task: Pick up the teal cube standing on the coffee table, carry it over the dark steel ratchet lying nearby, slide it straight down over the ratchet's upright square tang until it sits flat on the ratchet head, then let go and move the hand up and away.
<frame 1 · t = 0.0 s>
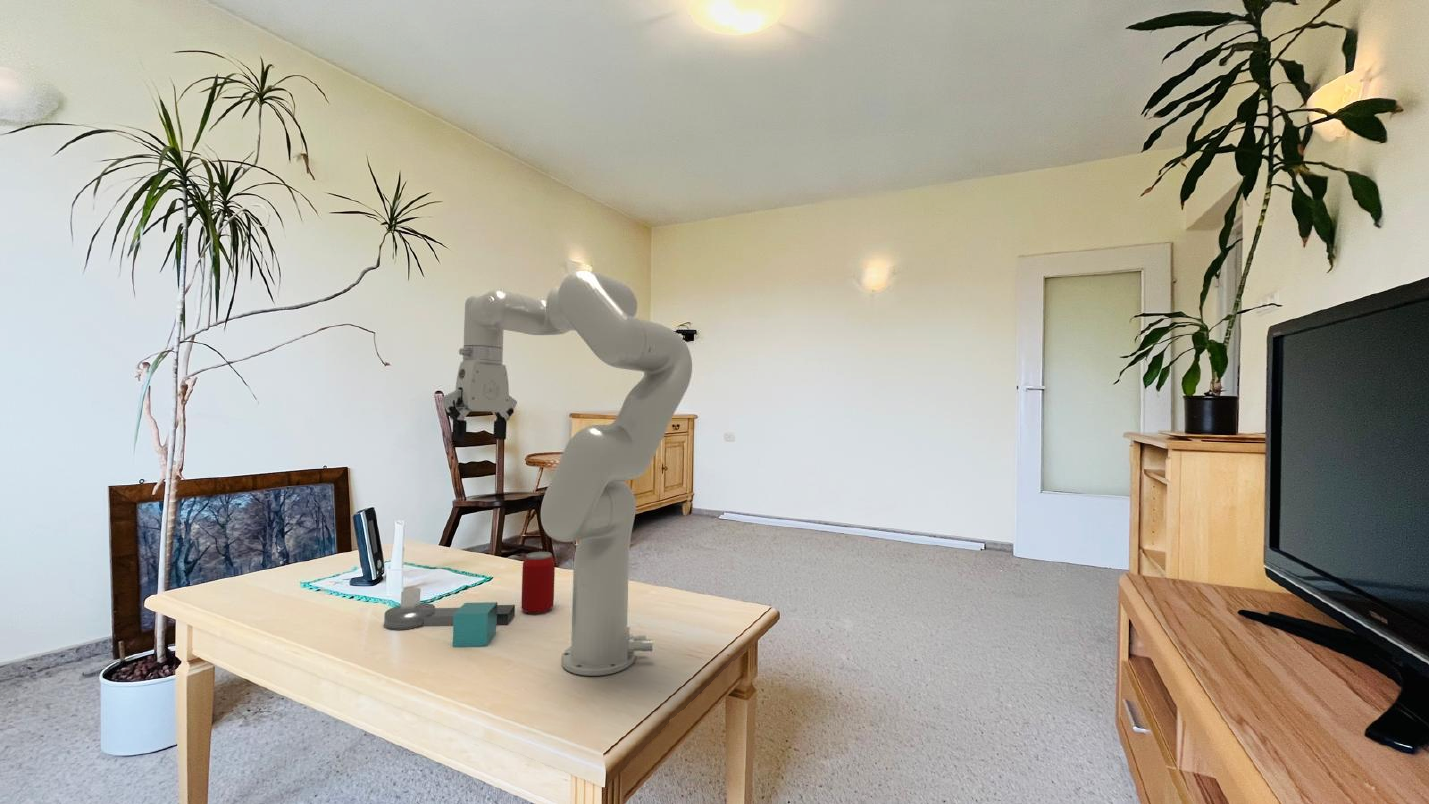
hand: (480, 439, 112), 37 cm above the table, tool pointing down, fingers open, 9 cm apart
beverage can: (537, 610, 119), on the table
ratchet: (445, 622, 112), on the table
teal cube: (475, 640, 103), on the table
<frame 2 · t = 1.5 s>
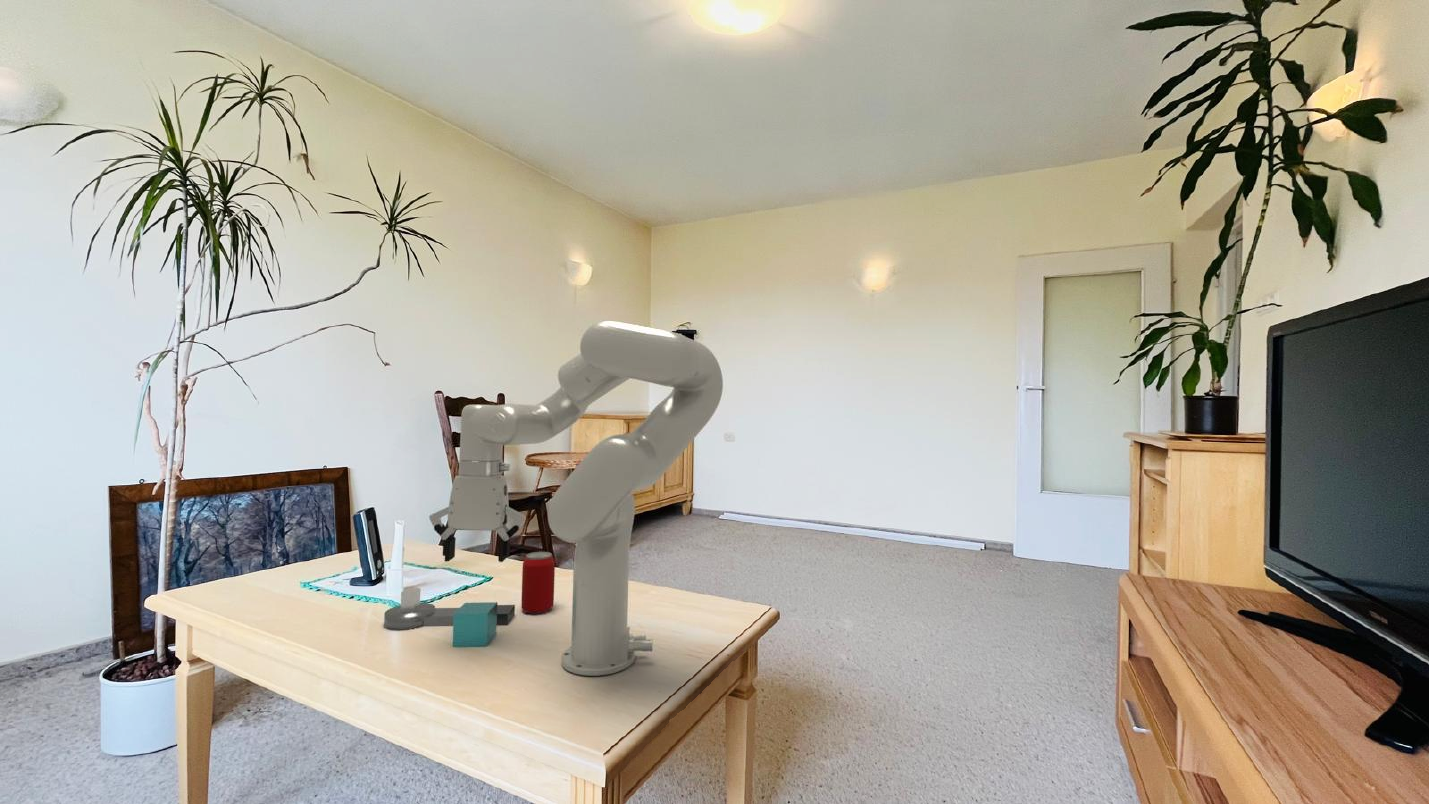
hand: (476, 559, 103), 15 cm above the table, tool pointing down, fingers open, 9 cm apart
nothing on the table moved.
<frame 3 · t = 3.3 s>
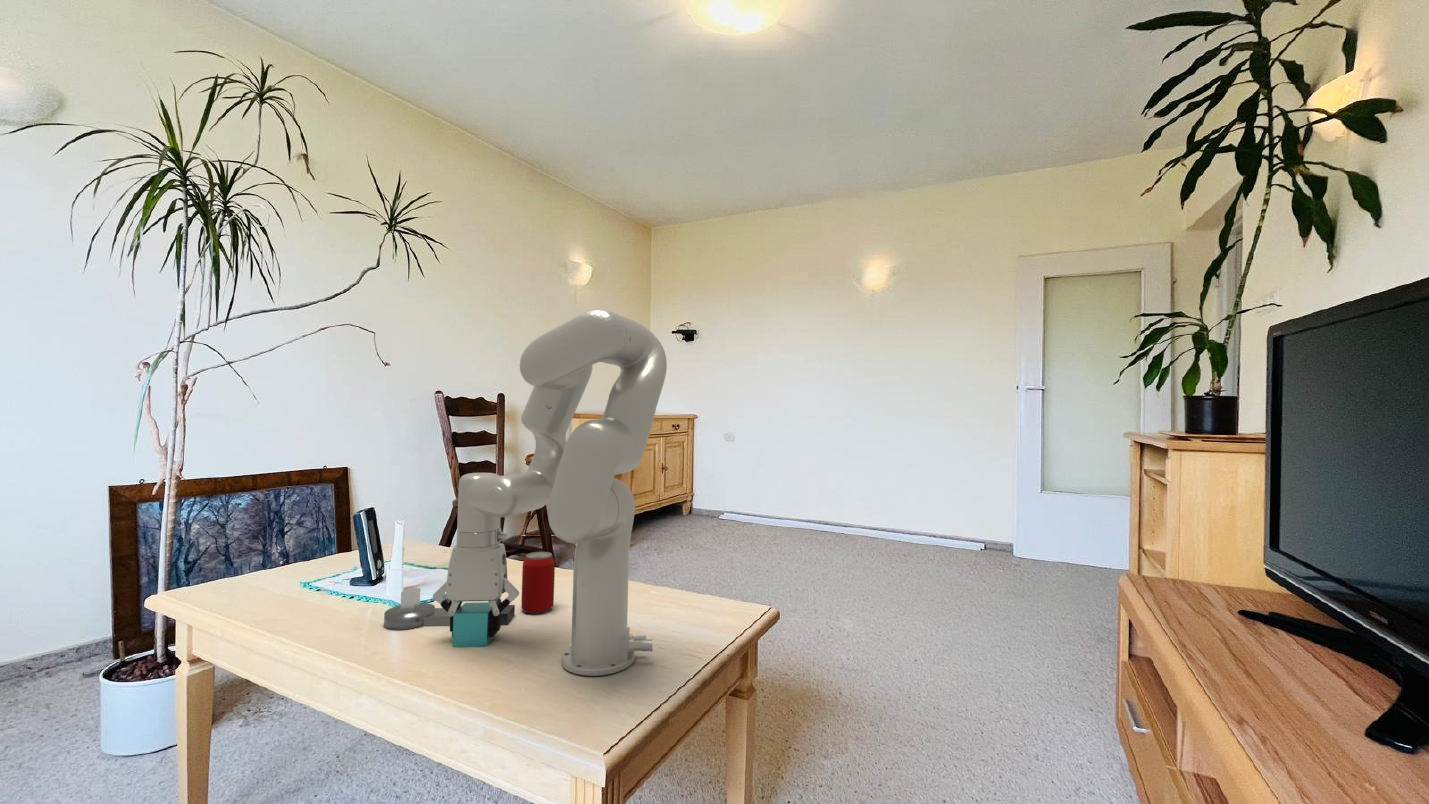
hand: (475, 634, 103), 1 cm above the table, tool pointing down, fingers closed on teal cube, 6 cm apart
teal cube: (475, 640, 103), on the table, touching gripper
everything else where it was.
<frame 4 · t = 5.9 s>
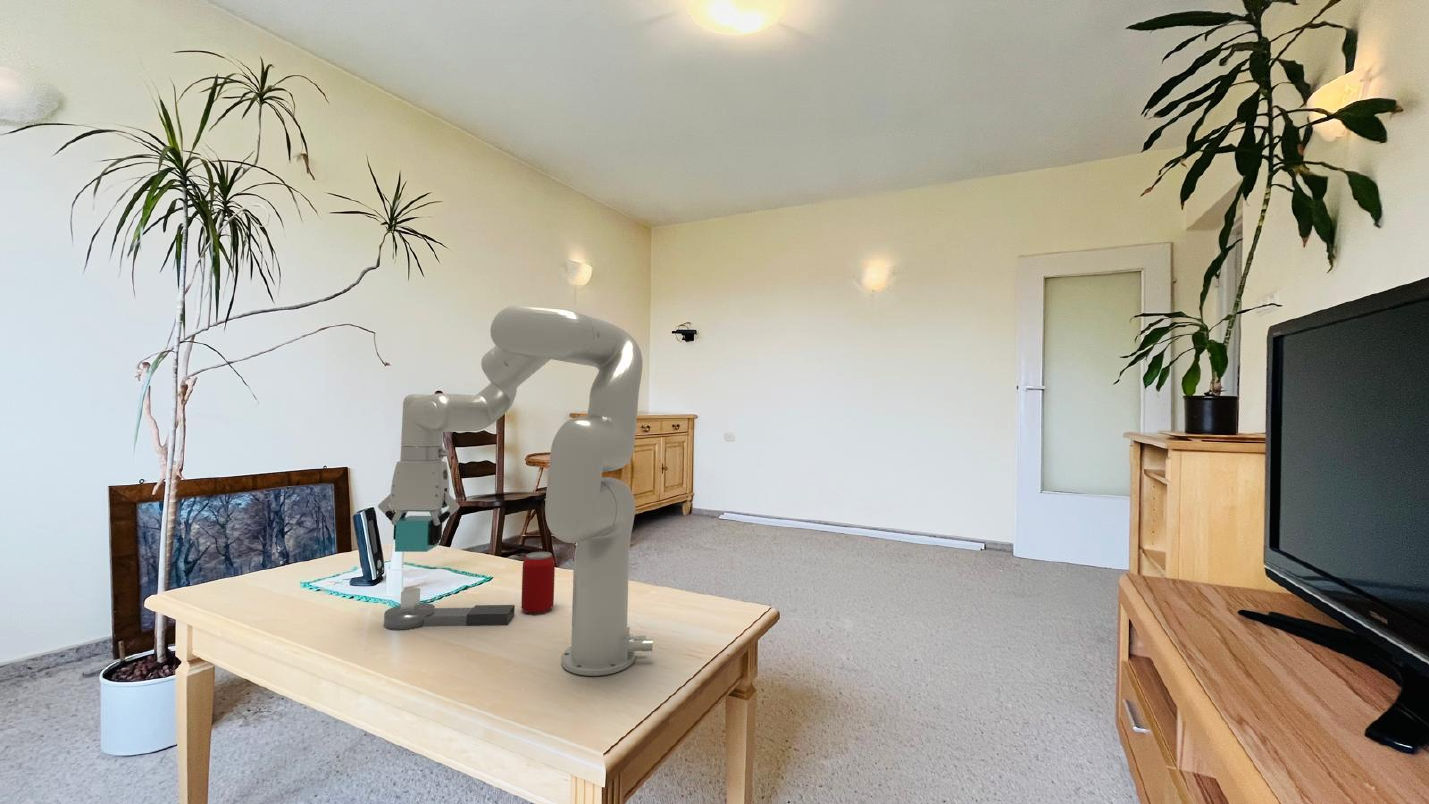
hand: (417, 542, 111), 16 cm above the table, tool pointing down, fingers closed on teal cube, 6 cm apart
teal cube: (417, 548, 111), point 15 cm above the table, touching gripper
everything else where it was.
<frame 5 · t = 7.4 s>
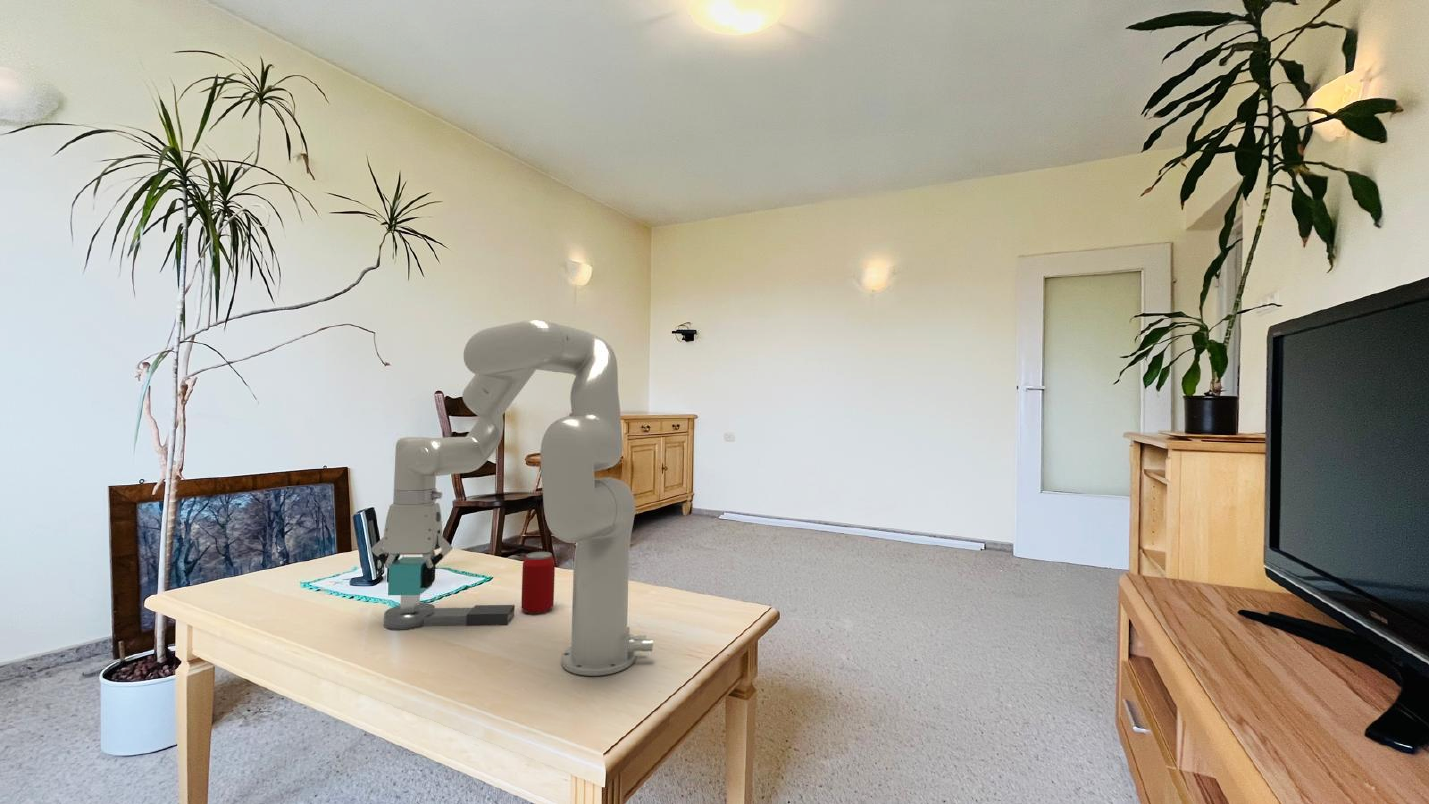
hand: (410, 585, 111), 7 cm above the table, tool pointing down, fingers closed on teal cube, 6 cm apart
teal cube: (410, 590, 111), point 6 cm above the table, touching gripper
everything else where it was.
when the fingers open (4 cm above the table, at t = 8.5 s): teal cube stays where it is, point 2 cm above the table.
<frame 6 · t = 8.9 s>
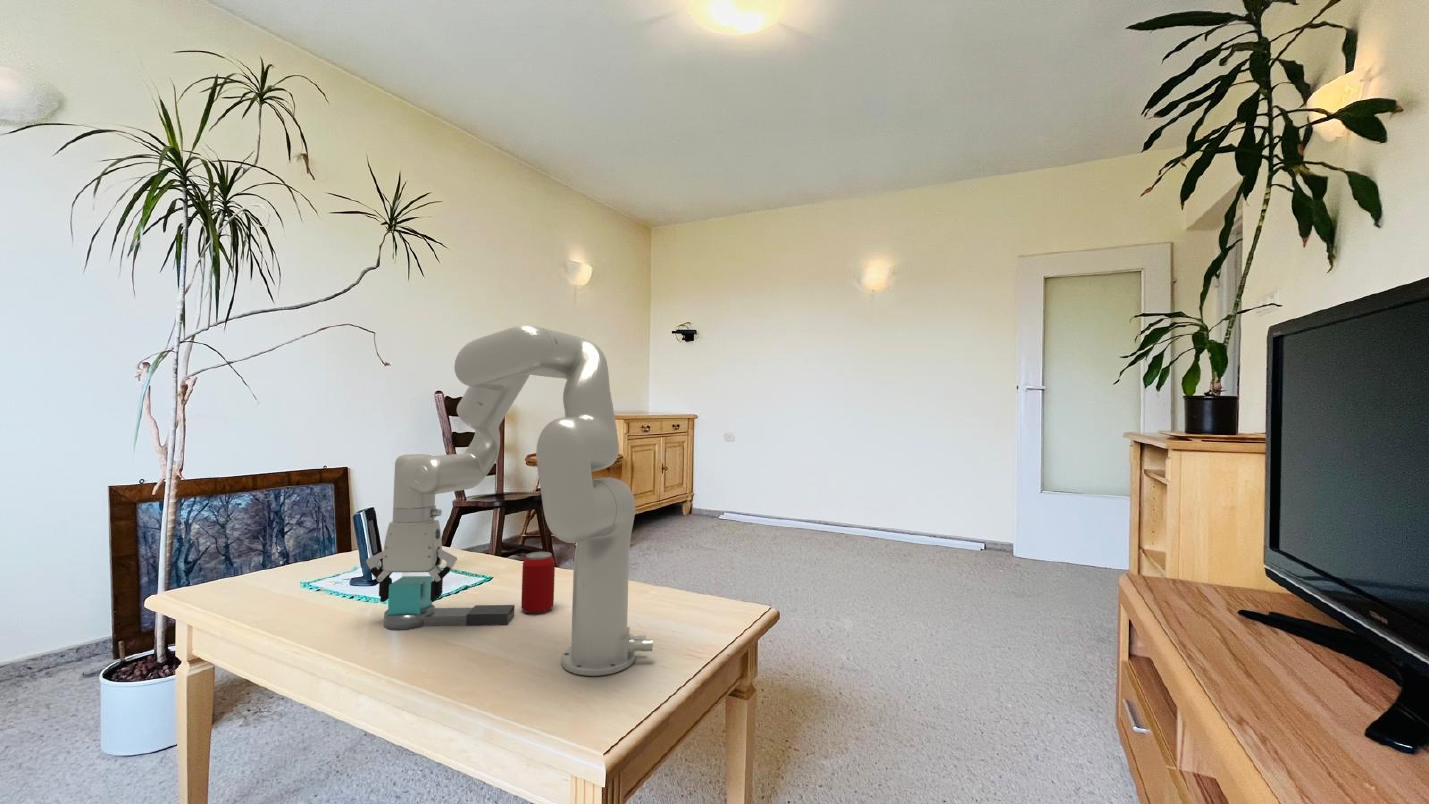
hand: (410, 599, 111), 4 cm above the table, tool pointing down, fingers open, 9 cm apart
teal cube: (410, 610, 111), point 2 cm above the table
everything else where it was.
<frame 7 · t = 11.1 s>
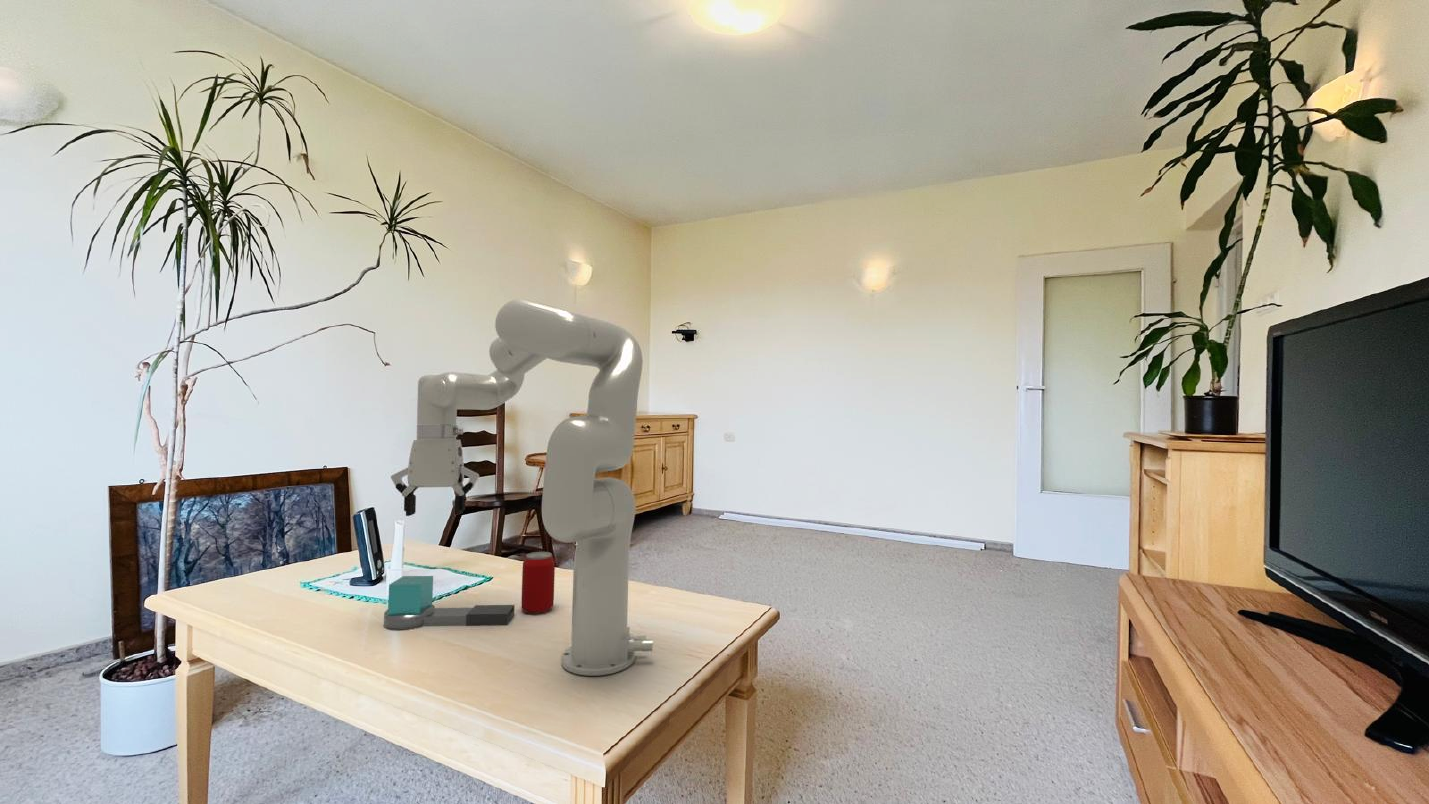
hand: (434, 514, 115), 21 cm above the table, tool pointing down, fingers open, 9 cm apart
ratchet: (445, 621, 112), on the table, touching teal cube
teal cube: (410, 609, 111), point 2 cm above the table, touching ratchet
everything else where it was.
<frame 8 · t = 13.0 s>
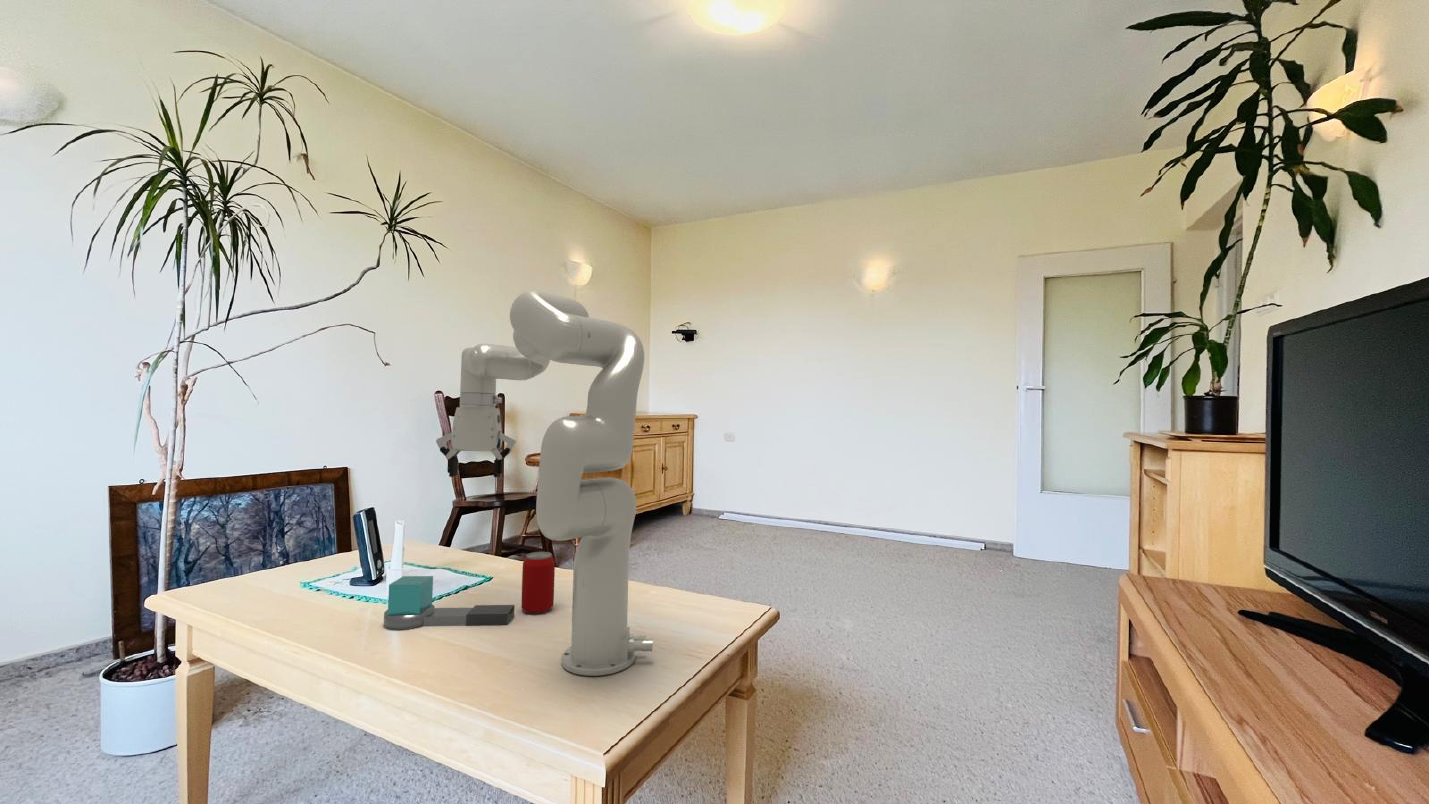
hand: (475, 476, 125), 28 cm above the table, tool pointing down, fingers open, 9 cm apart
nothing on the table moved.
at the end: teal cube 0.1 cm from the target spot on the ratchet, point 2.5 cm above the ratchet's base; teal cube tilted 0°; the gripper is holding nothing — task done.
